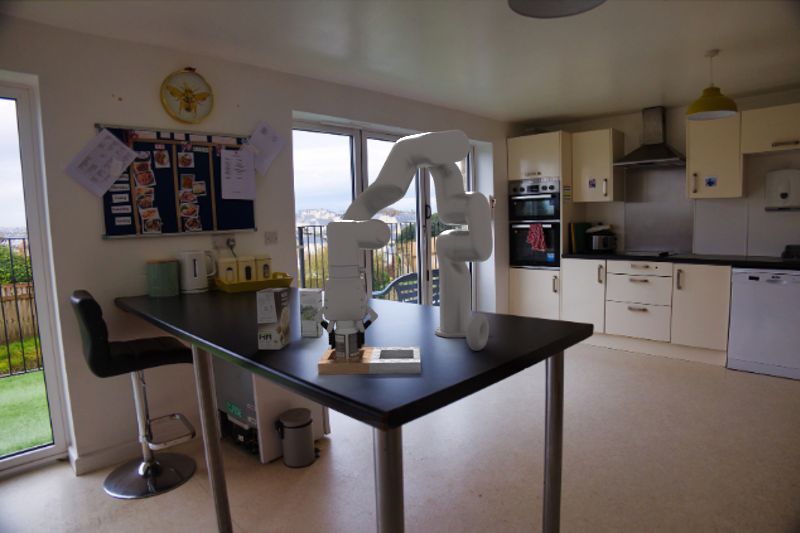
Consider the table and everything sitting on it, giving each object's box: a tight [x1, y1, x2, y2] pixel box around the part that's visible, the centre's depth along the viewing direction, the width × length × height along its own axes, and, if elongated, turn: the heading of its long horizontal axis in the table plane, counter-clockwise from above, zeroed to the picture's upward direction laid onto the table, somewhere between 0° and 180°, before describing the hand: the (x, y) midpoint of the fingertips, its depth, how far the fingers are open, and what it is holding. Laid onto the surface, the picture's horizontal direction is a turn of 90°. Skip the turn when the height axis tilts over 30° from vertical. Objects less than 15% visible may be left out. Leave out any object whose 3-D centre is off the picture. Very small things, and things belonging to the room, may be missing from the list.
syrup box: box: [298, 287, 324, 338], centre depth 145 cm, size 6×6×14 cm
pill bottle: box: [334, 320, 359, 360], centre depth 113 cm, size 6×6×10 cm
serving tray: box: [317, 346, 422, 375], centre depth 113 cm, size 23×14×2 cm, turn 89°
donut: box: [465, 312, 490, 352], centre depth 124 cm, size 10×4×10 cm, turn 148°
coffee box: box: [255, 287, 292, 350], centre depth 133 cm, size 9×6×16 cm
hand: (347, 347), depth 113 cm, fingers closed on pill bottle, 5 cm apart
